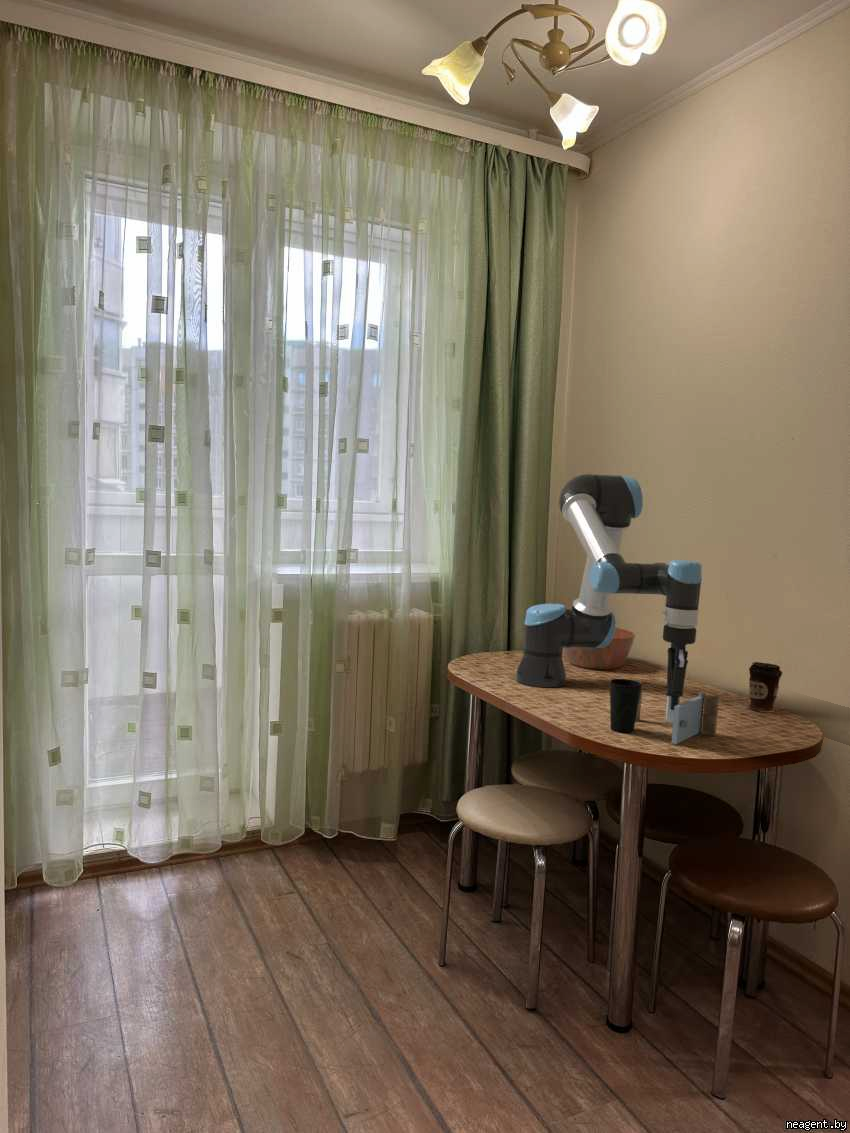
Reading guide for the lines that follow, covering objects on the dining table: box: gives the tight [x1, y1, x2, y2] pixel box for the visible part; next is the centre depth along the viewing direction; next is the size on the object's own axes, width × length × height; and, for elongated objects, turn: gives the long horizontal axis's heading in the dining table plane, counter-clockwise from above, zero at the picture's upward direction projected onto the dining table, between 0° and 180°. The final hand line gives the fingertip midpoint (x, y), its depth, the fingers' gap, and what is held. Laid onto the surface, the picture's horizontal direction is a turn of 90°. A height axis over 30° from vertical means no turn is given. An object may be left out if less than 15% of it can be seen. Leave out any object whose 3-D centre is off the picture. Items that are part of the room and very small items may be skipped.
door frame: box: [635, 680, 720, 737], centre depth 217 cm, size 22×2×10 cm, turn 59°
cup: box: [609, 678, 643, 734], centre depth 212 cm, size 8×8×12 cm
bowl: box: [562, 627, 636, 671], centre depth 288 cm, size 25×25×11 cm
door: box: [671, 691, 706, 745], centre depth 208 cm, size 16×2×10 cm, turn 140°
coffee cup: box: [748, 661, 783, 713], centre depth 239 cm, size 9×8×13 cm
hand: (671, 721), depth 207 cm, fingers closed
